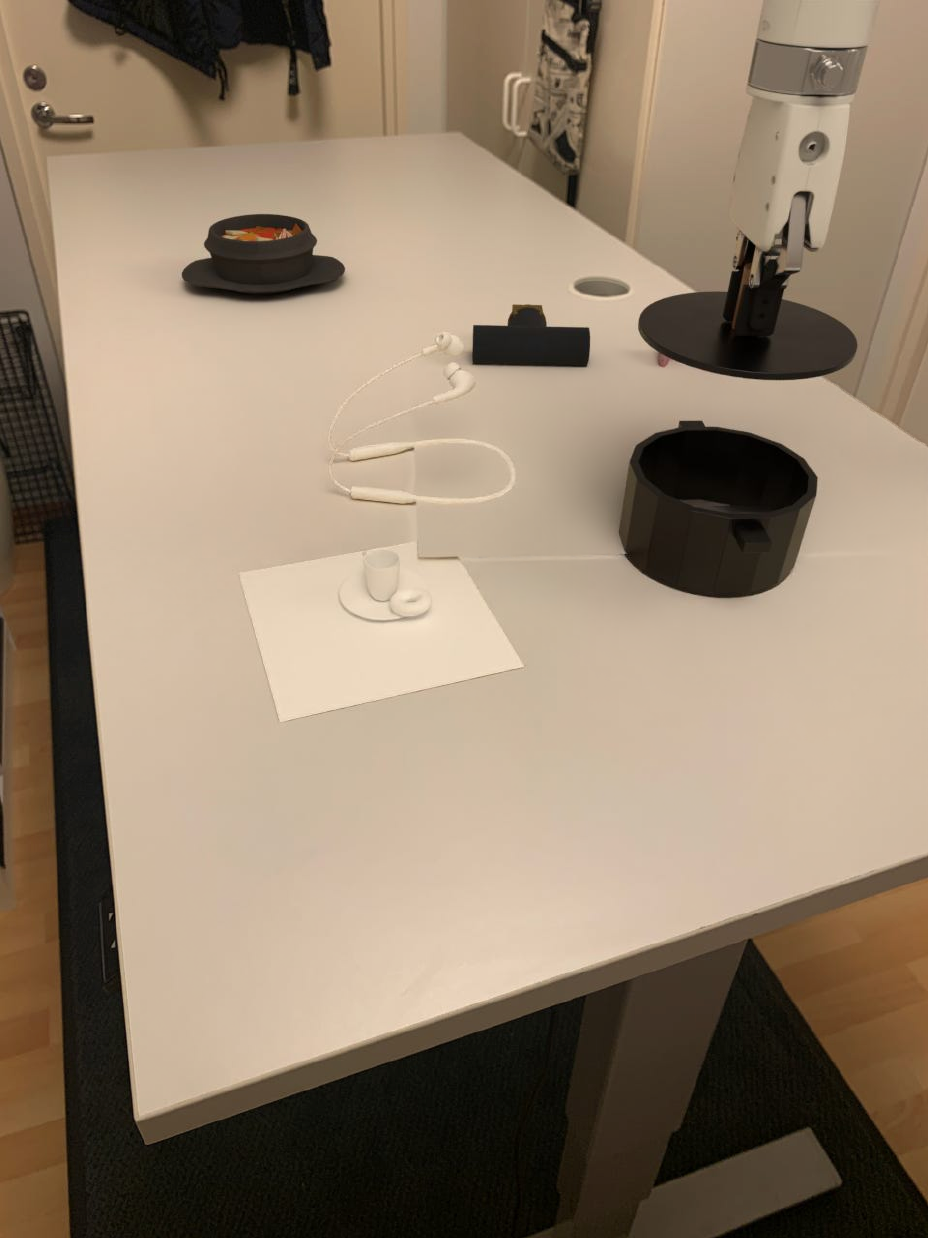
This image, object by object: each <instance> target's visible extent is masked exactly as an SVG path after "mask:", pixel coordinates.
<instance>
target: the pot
mask: <svg viewBox="0 0 928 1238" xmlns="http://www.w3.org/2000/svg"><path fill="white" fill-rule="evenodd" d="M677 426H678V427H675V428H672V429H666V430H662V431H657V432H655V433H653V434H651V435H650V436H648V437H647V438H645V439H643V440H642V441H640V442H639V443H637V444H636V445H635V447H634V449H633V452H632V454H631V457H630V459H629V463H628V470H627V476H626V483H625V489H624V495H623V501H622V506H621V507H622V508H621V513H620V521H619V529H618V535H619V538H620V541H621V544H622V546H623V550H624V552H625V553H624V555H625V557H626V558H627V560H628V561H629V562H630V563H631V564H632V565H633V566H634V568H636V569H637V570H639V571H640V572H641V573H642V574H643V575H645V576H647V577H648V578H649V579H651V580H653V581H656V582H657V583H659V584H662V585H664V586H666V587H669V588H671V589H674V590H677V591H680V592H684V593H686V594H687V593H688V594H692V595H696V596H702V597H708V598H709V597H711V598H722V599H723V598H729V599H730V598H731V599H732V598H743V597H750V596H751V597H752V596H755V595H759V594H762V593H765V592H768V591H771V590H773V589H774V588H776V587H778V586H780V585H781V583H783V582H784V581H786V579H787V578H788V577H789V575H790V574H791V573H792V571H793V570H794V569H795V565H796V562H797V559H798V556H799V552H800V549H801V546H802V542H803V539H804V536H805V533H806V530H807V526H808V524H809V520H810V517H811V514H812V511H813V507H814V505H815V501H816V497H817V491H818V481H819V480H818V476H817V474H816V473H815V472H814V470H813V468H812V467H811V465H809V463H808V461H807V460H806V459H805V458H804V457H803V456H801V455H799V454H798V453H797V452H795V451H793V450H791V449H790V448H789V447H787V446H785V445H784V444H783V443H781V442H778V441H775V440H772V439H769V438H766V437H763V436H761V435H759V434H756V433H752V432H749V431H746V430H745V431H744V430H739V429H733V428H726V427H720V426H706V425H705V423H704V422H703V420H679V421H678V425H677ZM684 501H705V502H711V503H717V504H721V505H725V506H746V505H769V507H770V508H771V510H772V511H771V512H768V513H734V514H730V513H724V512H719V511H714V510H709V509H703V508H698V507H694V505H692V504H689V503H688V502H684Z"/></svg>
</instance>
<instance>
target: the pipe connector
mask: <svg viewBox="0 0 928 1238" xmlns="http://www.w3.org/2000/svg"><path fill="white" fill-rule="evenodd" d="M547 323H548V322H547V318H546V315H545V313H544V309H543V305H542V304H529V303H527V304H514V303H513V304H512V308H511V312H510V314H509V315H508V319H507V325H494V324H473V325H472V348H471V349H472V351H471V352H472V355H471V357H472V358H471V359H472V365H488V366H489V365H490V366H491V365H492V366H536V367H537V366H539V367H540V366H541V367H546V366H547V367H588V364H589V360H590V353H591V352H590V351H591V330H590V327H587V326H586V327H585V326H547V325H548V324H547Z"/></svg>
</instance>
